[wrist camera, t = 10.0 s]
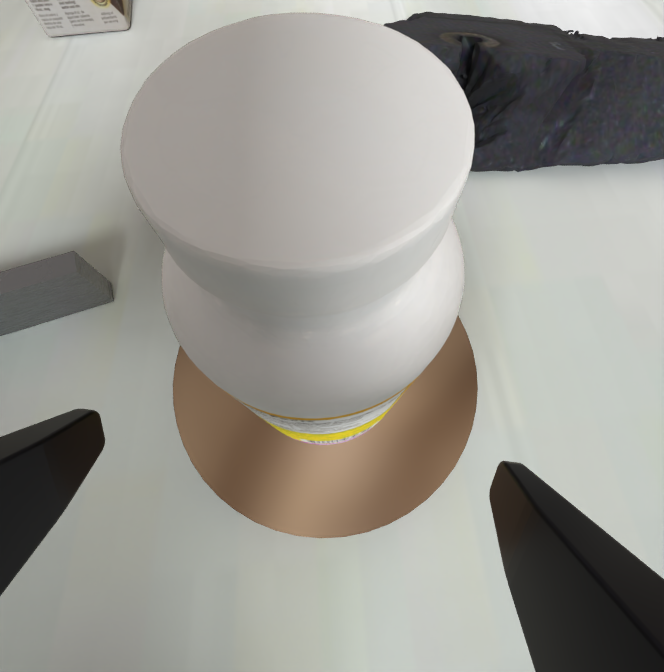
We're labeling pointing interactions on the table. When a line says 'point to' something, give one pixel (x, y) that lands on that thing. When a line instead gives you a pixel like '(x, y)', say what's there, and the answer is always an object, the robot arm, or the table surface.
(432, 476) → the copper plate
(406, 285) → the supplement bottle
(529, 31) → the dark grey flat fabric
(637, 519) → the table surface
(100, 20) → the coffee box
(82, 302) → the rack bracket
